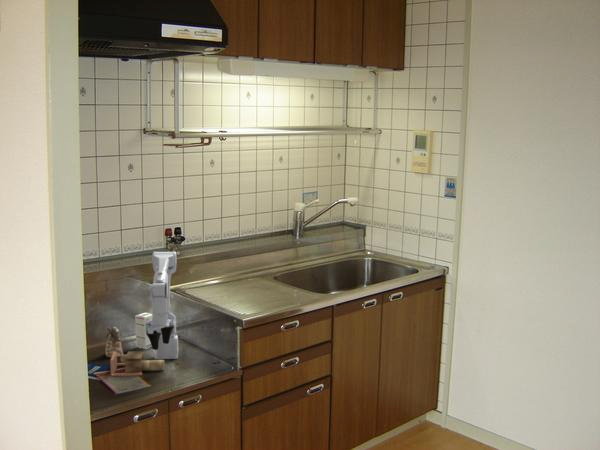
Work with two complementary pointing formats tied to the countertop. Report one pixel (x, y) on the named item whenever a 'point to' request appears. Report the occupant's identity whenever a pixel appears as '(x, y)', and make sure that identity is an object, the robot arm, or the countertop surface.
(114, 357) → the end wall and guide rails
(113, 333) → the figurine
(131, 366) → the block
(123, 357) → the short dowel
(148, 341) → the syrup box
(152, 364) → the dowel
